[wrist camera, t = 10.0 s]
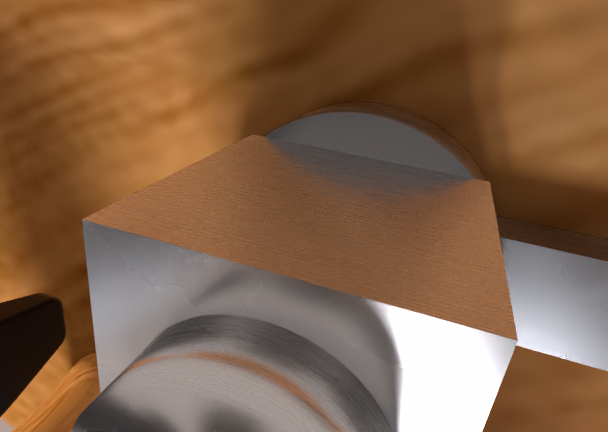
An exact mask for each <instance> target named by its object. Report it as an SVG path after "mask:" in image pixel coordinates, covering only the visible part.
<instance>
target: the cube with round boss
mask: <svg viewBox="0 0 608 432" xmlns="http://www.w3.org/2000/svg"><path fill="white" fill-rule="evenodd" d="M82 225H83V235H84V244H85V253H86V263H87V272H88V281H89V290H90V300H91V309H92V318H93V328H94V337H95V346H96V356H97V365H98V374H99V383H100V394H99V395H98V396H97V397H96V398H95V399H94V400H93V401H92V402H91V403H90V404H89V405H88V406H87V408H86V409H85V410H84V411H83V412H82V413H81V414H80V415H79V417H78V418H77V420H76V422H75V424H74V426H73V428H72V431H71V432H482V430H483V427H484V425H485V422H486V420H487V417H488V415H489V412H490V410H491V407H492V405H493V402H494V400H495V397H496V395H497V392H498V390H499V387H500V385H501V382H502V380H503V377H504V375H505V372H506V369H507V367H508V364H509V362H510V359H511V357H512V354H513V352H514V349H515V347H516V344H517V342H518V339H517V333H516V327H515V322H514V316H513V310H512V305H511V299H510V293H509V288H508V282H507V276H506V271H505V265H504V259H503V254H502V248H501V242H500V237H499V231H498V225H497V219H496V214H495V208H494V202H493V197H492V191H491V185H490V182H488V181H483V180H478V179H473V178H468V177H463V176H458V175H453V174H448V173H443V172H438V171H433V170H428V169H423V168H418V167H413V166H408V165H403V164H398V163H393V162H388V161H383V160H378V159H373V158H368V157H363V156H358V155H353V154H348V153H343V152H338V151H333V150H328V149H323V148H318V147H313V146H308V145H303V144H298V143H293V142H288V141H283V140H278V139H273V138H268V137H263V136H258V135H253V134H252V135H250V136H248V137H246V138H244V139H242V140H240V141H238V142H236V143H234V144H232V145H230V146H228V147H226V148H224V149H222V150H220V151H218V152H216V153H214V154H212V155H210V156H208V157H206V158H204V159H202V160H200V161H198V162H196V163H194V164H192V165H190V166H188V167H186V168H184V169H182V170H180V171H178V172H176V173H174V174H172V175H170V176H168V177H166V178H164V179H162V180H160V181H158V182H156V183H154V184H152V185H150V186H148V187H146V188H144V189H142V190H140V191H138V192H136V193H134V194H131V195H129V196H127V197H125V198H123V199H121V200H119V201H117V202H115V203H113V204H111V205H109V206H107V207H105V208H103V209H101V210H99V211H97V212H95V213H93V214H91V215H89V216H87V217H85V218H83V219H82Z"/></svg>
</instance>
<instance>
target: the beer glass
mask: <svg viewBox="0 0 608 432" xmlns="http://www.w3.org/2000/svg"><path fill="white" fill-rule="evenodd" d="M99 394H100V383H99V374H98V365H97V356H96V352H94V353H91V354H88V355H86V356H85V357H83V358H81V359H80V360H79V361H78V362H77V363H76V364H75V365H74V366H73V367H72V368H71V369H70V371H69V372H68V373H67V374H66V375H65V377H64V378H63V379H62V380H61V382H60V383H59V384H58V385H57V387H56V388H55V389H54V390H53V392H52V393H51V394H50V395H49V397H48V398H47V399H46V400H45V401H44V402H43V403H42V404H41V405H40V407H39V408H38V409H37V410H36V411H35V412H34V413H32V414H31V415H30V416H29V417H28V418H27V419H26V420H25V421H24V422H23V423H22V424H21V425H19V426H18V427H17V428H16V429H14V430H13V431H12V432H71V431H72V428H73V426H74V424H75V422H76V420H77V418H78V417H79V415H80V414H81V413H82V412H83V411H84V410H85V409H86V408H87V406H88V405H89V404H90V403H91V402H92V401H93V400H94V399H95V398H96V397H97V396H98V395H99Z"/></svg>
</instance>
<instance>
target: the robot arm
mask: <svg viewBox="0 0 608 432" xmlns="http://www.w3.org/2000/svg"><path fill="white" fill-rule="evenodd" d="M65 336H66V325H65V318H64V311H63V305H62V302H61V300H60V299H58V298H56V297H53V296H50V295H47V294H44V293H37V294H33V295H29V296H25V297H22V298H18V299H14V300H10V301H6V302H2V303H0V417H1V416H2V415H3V414H4V413H5V412H6V410H7V409H8V408H9V407H10V406H11V405H12V404H13V402H14V401H15V400H16V399H17V398H18V396H19V395H20V394H21V393H22V392H23V390H24V389H25V388H26V387H27V386H28V384H29V383H30V382H31V381H32V379H33V378H34V377H35V376H36V375H37V373H38V372H39V371H40V370H41V369H42V367H43V366H44V365H45V364H46V363H47V361H48V360H49V359H50V358H51V356H52V355H53V354H54V353H55V352H56V350H57V349H58V348H59V347H60V346H61V344H62V343H63V341H64V339H65Z"/></svg>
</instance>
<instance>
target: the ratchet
mask: <svg viewBox="0 0 608 432" xmlns="http://www.w3.org/2000/svg"><path fill="white" fill-rule="evenodd" d="M265 137H268V138H273V139H278V140H283V141H288V142H293V143H298V144H303V145H308V146H313V147H318V148H323V149H328V150H333V151H338V152H343V153H348V154H353V155H358V156H363V157H368V158H373V159H378V160H383V161H388V162H393V163H398V164H403V165H408V166H413V167H418V168H423V169H428V170H433V171H438V172H443V173H448V174H453V175H458V176H463V177H468V178H473V179H478V180H483V181H486V179H485V177H484V176H483V174H482V172H481V170H480V169H479V167H478V165H477V164H476V162H475V161H474V160H473V158H472V157H471V156H470V154H469V153H468V152H467V151H466V149H465V148H464V147H463V146H462V145H461V144H460V143H459V142H458V141H456V140H455V139H454V138H453V137H452V136H451V135H450V134H449V133H447V132H446V131H444V130H443V129H442V128H440V127H439V126H438V125H436V124H435V123H433V122H431V121H429V120H427V119H425V118H424V117H422V116H420V115H418V114H415V113H413V112H410V111H407V110H405V109H402V108H399V107H394V106H390V105H386V104H380V103H370V102H346V103H340V104H335V105H329V106H326V107H322V108H319V109H316V110H313V111H311V112H309V113H307V114H305V115H302V116H300V117H298V118H296V119H294V120H293V121H291V122H289V123H287V124H285V125H283V126H281V127H279V128H278V129H276V130H274V131H272V132H270V133H269V134H268V135H266V136H265ZM493 202H494V201H493ZM494 208H495V206H494ZM495 214H496V210H495ZM496 219H497V225H498V231H499V237H500V242H501V248H502V254H503V259H504V265H505V271H506V276H507V282H508V288H509V293H510V299H511V305H512V310H513V316H514V322H515V327H516V333H517V339H518V342H517V344H516V345H517V346H520V347H524V348H527V349H531V350H534V351H538V352H542V353H545V354H549V355H552V356H556V357H559V358H563V359H566V360H570V361H574V362H577V363H581V364H584V365H588V366H591V367H595V368H598V369H602V370H606V371H608V240H607V239H603V238H598V237H594V236H589V235H584V234H580V233H575V232H571V231H566V230H561V229H557V228H552V227H547V226H543V225H538V224H534V223H529V222H524V221H520V220H515V219H511V218H506V217H501V216H497V215H496Z"/></svg>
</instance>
